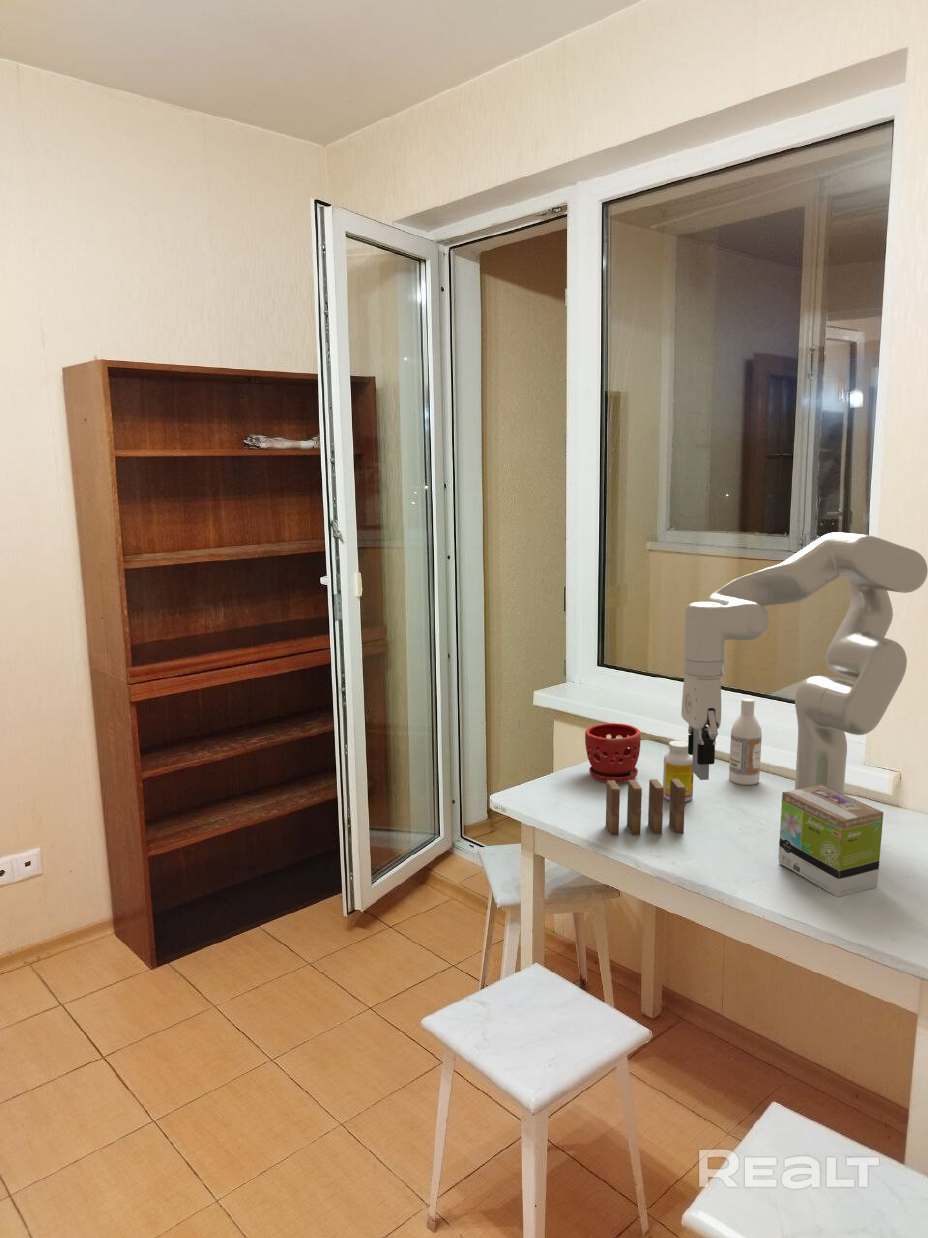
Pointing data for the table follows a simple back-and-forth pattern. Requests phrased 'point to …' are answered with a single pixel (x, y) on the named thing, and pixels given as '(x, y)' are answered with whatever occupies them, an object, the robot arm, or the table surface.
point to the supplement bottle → (678, 768)
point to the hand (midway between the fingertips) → (700, 758)
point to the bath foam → (745, 746)
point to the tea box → (830, 839)
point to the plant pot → (613, 751)
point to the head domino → (697, 769)
